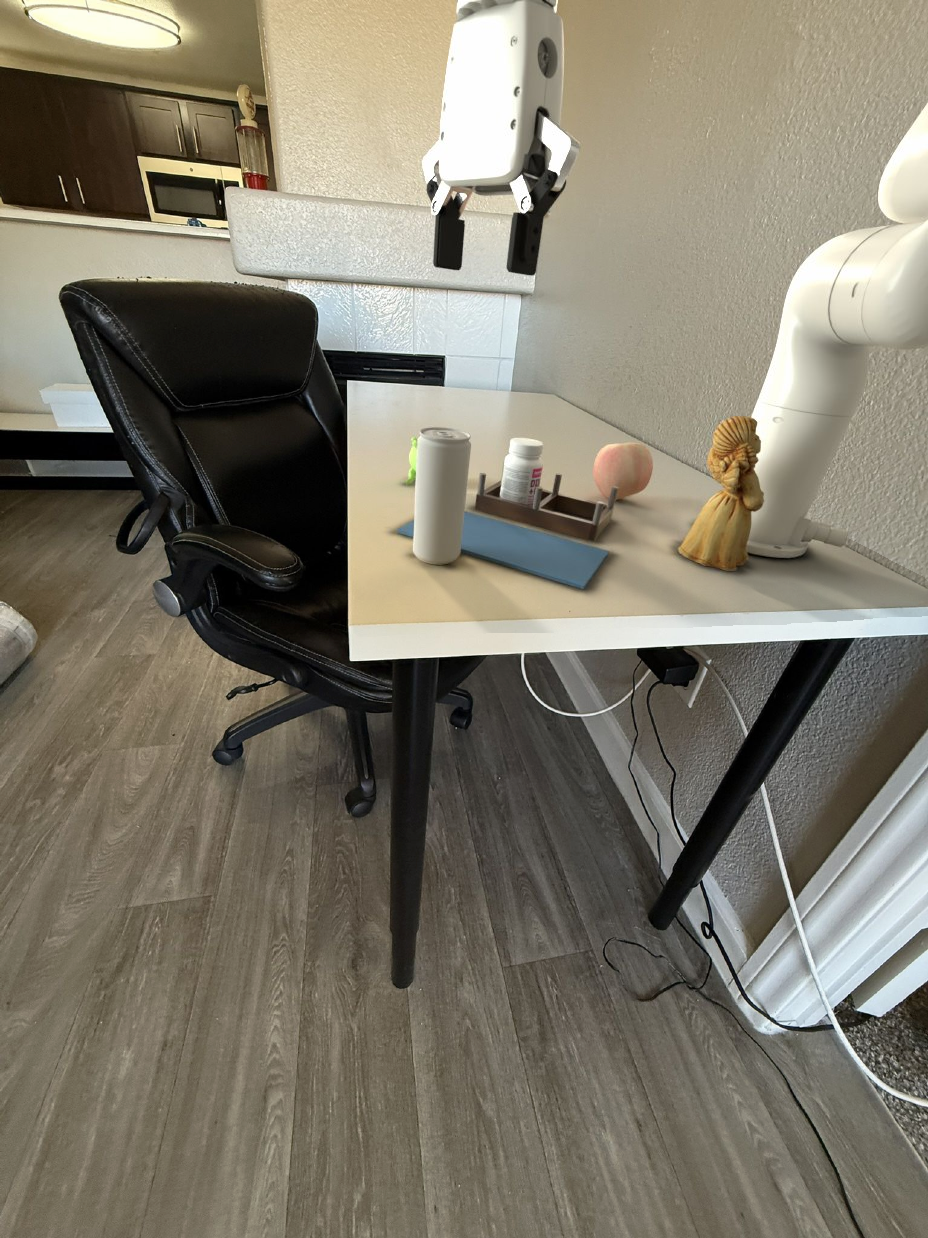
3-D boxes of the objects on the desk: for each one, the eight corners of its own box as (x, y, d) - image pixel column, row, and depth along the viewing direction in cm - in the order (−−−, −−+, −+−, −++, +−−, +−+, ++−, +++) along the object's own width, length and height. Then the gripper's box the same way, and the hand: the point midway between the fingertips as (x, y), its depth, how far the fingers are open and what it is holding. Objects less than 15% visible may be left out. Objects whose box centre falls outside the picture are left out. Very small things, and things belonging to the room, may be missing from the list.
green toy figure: (405, 484, 71) (407, 441, 68) (406, 472, 75) (408, 432, 72) (451, 488, 71) (454, 445, 68) (449, 476, 76) (452, 435, 73)
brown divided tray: (610, 521, 66) (619, 486, 64) (593, 541, 60) (603, 504, 57) (500, 493, 71) (504, 460, 69) (474, 509, 65) (478, 473, 63)
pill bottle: (533, 517, 64) (545, 448, 60) (495, 511, 65) (504, 442, 61) (536, 505, 68) (547, 439, 64) (500, 499, 69) (509, 434, 65)
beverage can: (417, 567, 50) (424, 439, 43) (408, 546, 54) (413, 425, 47) (465, 565, 51) (478, 440, 45) (453, 545, 55) (463, 427, 49)
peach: (636, 493, 78) (652, 438, 73) (649, 511, 71) (666, 451, 67) (584, 487, 78) (596, 432, 73) (591, 504, 71) (605, 444, 67)
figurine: (756, 575, 56) (820, 431, 48) (685, 566, 56) (736, 421, 48) (731, 546, 63) (783, 415, 55) (667, 538, 63) (710, 407, 55)
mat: (608, 554, 57) (609, 550, 57) (583, 589, 49) (584, 585, 49) (442, 508, 64) (442, 505, 64) (397, 532, 56) (397, 529, 56)
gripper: (635, -14, 36) (582, 280, 45) (466, 40, 46) (450, 271, 55) (569, -69, 31) (524, 271, 40) (397, 4, 42) (392, 262, 51)
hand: (481, 270), depth 48 cm, fingers open, 9 cm apart
